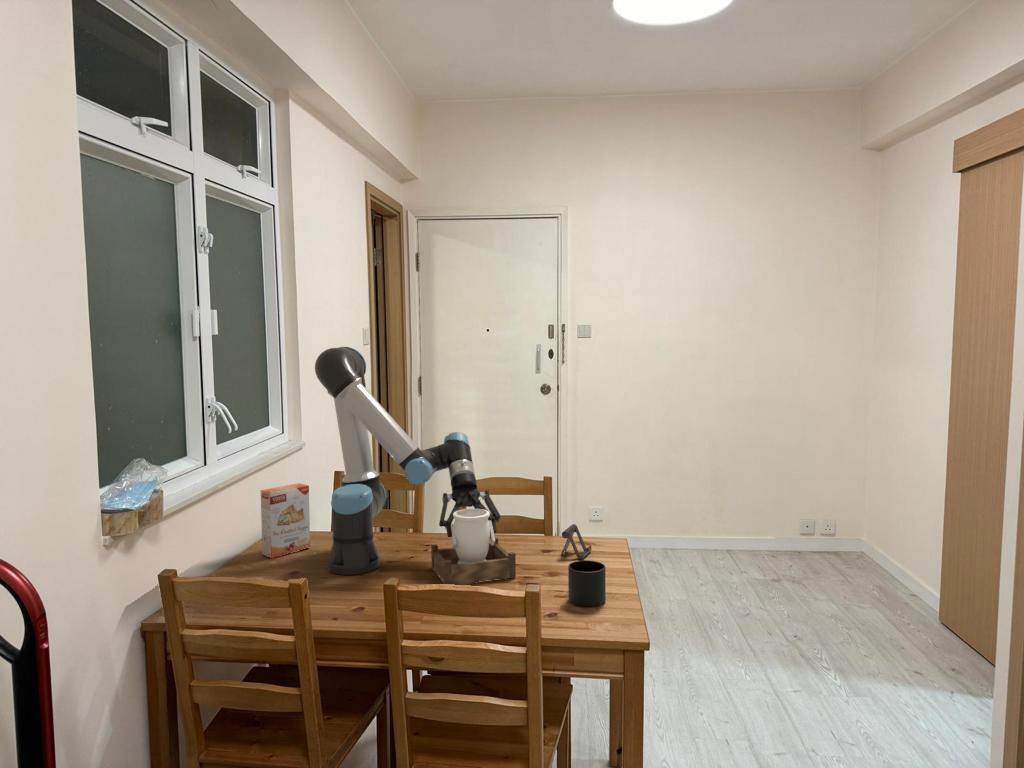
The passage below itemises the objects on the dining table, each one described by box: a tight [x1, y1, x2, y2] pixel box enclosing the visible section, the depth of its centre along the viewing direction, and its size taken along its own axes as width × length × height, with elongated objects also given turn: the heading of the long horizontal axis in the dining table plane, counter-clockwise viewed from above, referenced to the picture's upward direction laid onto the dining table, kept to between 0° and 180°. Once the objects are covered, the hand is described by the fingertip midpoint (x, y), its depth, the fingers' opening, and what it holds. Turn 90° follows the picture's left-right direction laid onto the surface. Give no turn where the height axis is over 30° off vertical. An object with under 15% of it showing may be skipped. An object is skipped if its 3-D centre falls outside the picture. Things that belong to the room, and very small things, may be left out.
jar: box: [453, 508, 491, 564], centre depth 206 cm, size 11×10×15 cm
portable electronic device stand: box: [560, 523, 592, 561], centre depth 222 cm, size 9×8×8 cm
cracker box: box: [260, 482, 311, 559], centre depth 228 cm, size 14×6×21 cm, turn 139°
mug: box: [567, 559, 607, 608], centre depth 187 cm, size 9×12×9 cm
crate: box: [430, 537, 517, 586], centre depth 207 cm, size 20×17×7 cm
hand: (474, 544), depth 204 cm, fingers closed on jar, 10 cm apart
